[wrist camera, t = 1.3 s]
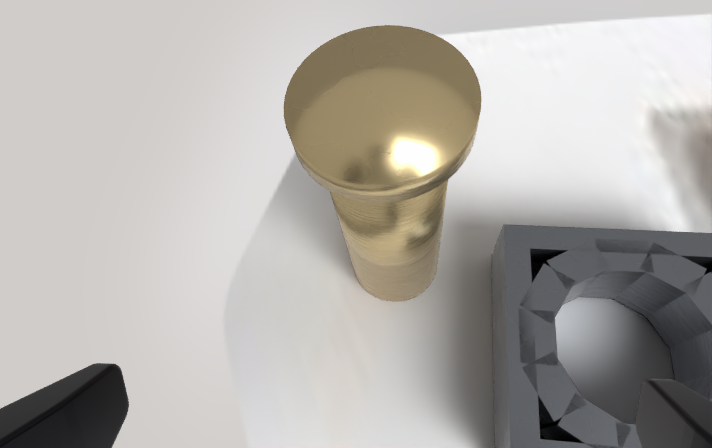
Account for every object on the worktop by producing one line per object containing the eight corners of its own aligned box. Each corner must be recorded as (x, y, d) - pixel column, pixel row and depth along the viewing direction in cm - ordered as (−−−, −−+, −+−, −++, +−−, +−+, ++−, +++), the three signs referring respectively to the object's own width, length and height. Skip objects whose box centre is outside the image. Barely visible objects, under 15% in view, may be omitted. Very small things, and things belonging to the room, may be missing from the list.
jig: (743, 493, 19) (810, 499, 16) (495, 467, 20) (510, 468, 17) (697, 266, 22) (744, 234, 19) (491, 256, 24) (503, 224, 20)
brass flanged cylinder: (449, 317, 23) (482, 187, 12) (335, 310, 23) (269, 180, 13) (451, 214, 25) (480, 24, 14) (347, 210, 25) (298, 26, 15)
